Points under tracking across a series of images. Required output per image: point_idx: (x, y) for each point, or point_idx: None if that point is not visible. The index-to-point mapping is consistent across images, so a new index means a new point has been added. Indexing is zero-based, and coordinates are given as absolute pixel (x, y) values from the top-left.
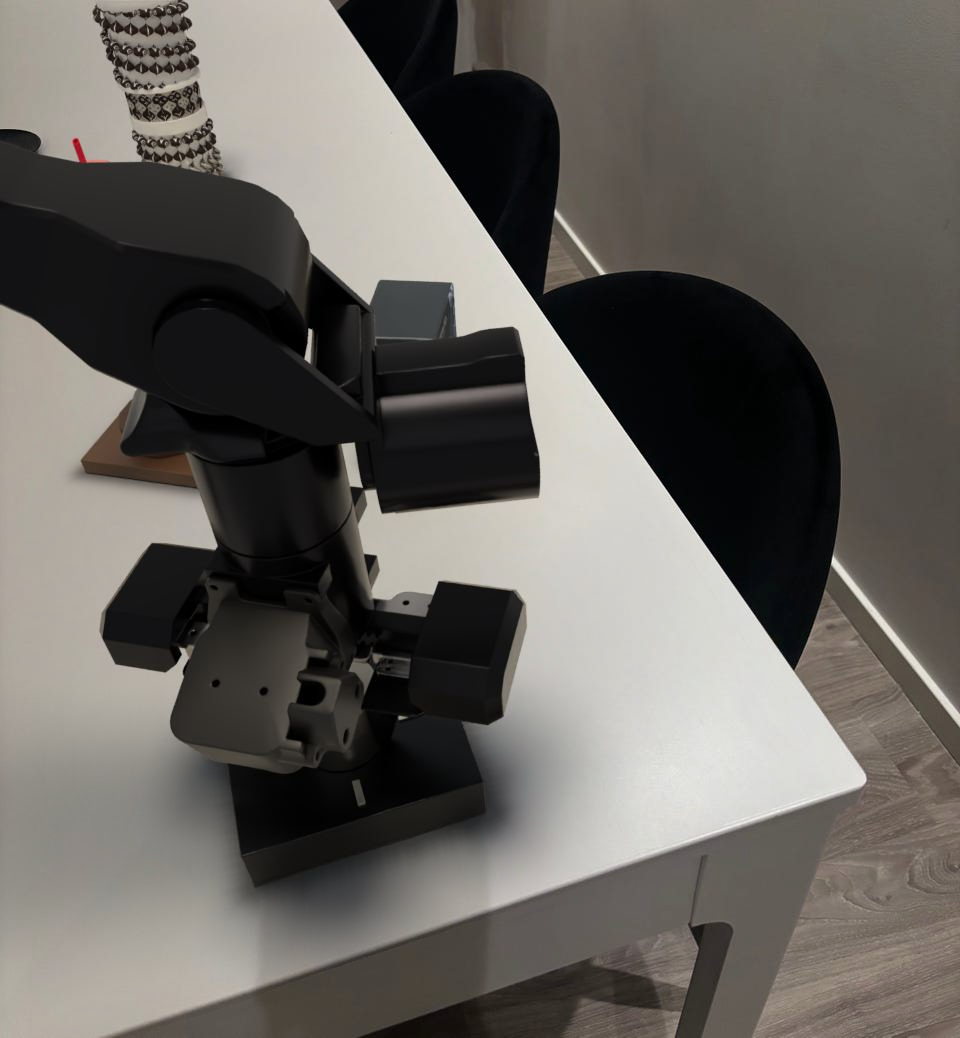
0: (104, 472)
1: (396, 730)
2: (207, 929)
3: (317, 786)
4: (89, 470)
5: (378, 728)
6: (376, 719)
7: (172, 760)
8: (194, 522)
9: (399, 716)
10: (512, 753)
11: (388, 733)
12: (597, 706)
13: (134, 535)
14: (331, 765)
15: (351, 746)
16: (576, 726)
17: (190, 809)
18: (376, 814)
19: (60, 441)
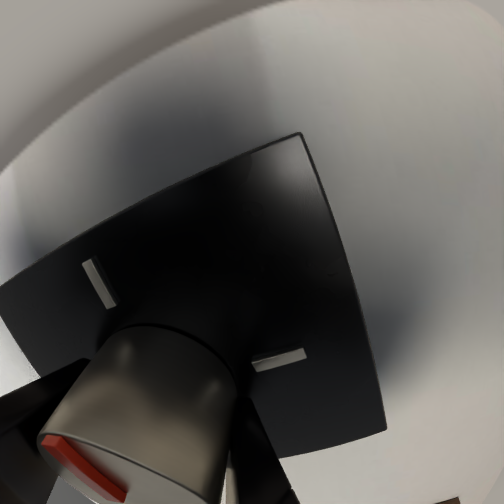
0: (448, 502)
1: None
2: (347, 74)
3: (176, 298)
4: (456, 499)
5: (43, 395)
6: (16, 415)
7: (436, 329)
8: (395, 501)
9: None
10: None
11: (38, 382)
12: (10, 361)
13: (439, 484)
14: (148, 337)
15: (89, 371)
16: (12, 348)
17: (412, 263)
18: (66, 244)
19: (466, 501)
